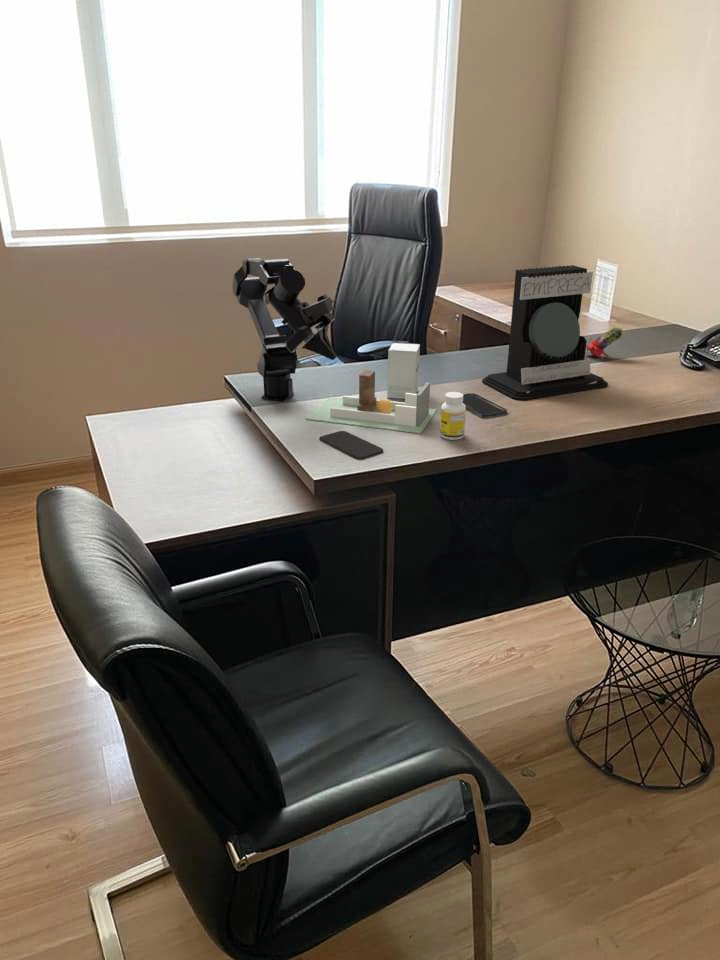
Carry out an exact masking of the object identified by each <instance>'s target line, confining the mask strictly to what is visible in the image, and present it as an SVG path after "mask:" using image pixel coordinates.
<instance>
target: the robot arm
mask: <svg viewBox="0 0 720 960" xmlns="http://www.w3.org/2000/svg"><path fill="white" fill-rule="evenodd" d="M249 275H250V276H249ZM232 280H233V281H232V285H231V286H232V293H233V296H234V297H235V298H236V299H237V302H238V303H239V305H241V306H243V307H244V308H247V311H248V312H249V314H250V317H251V320H252V322H253V324H254V327H255V329H256V332H257V334H258V337H259V339H260V342H261V344H262V345H261V352H260V355H259V357H258V361H257V363H256V366H257V367H256V368H257V373H258V374H259V375H260V376H261V377H263V380H262V381H263V395H261V397H260V398H261V399H264V400H272V401H281V402H285V401H286V400H288V399H289V398H290V397H292V396H293V395H294V393H295V392H294V388H293V379H292V378H291V374H292V375H293V374H296V371H297V361H298V355H297V354H296V350H297V349H298V347H299V346H300V345H301V344H302V343H303V342H304V345H303V346H302V347H301V349H303V350H308V351H311V352H313V353H316V354H318V355H321V356H322V357H325V358H327V359H329V360H331V361H334V360H335V359H336V358H337V354H336V352H335V350H334V348H333V345H332V344H331V342H330V339H329V336H328V329H329V325H331V323H333V321H335V319H336V317H335V316H334V315H333V313H331V312H332V311H335V308H334V306H333V304H334V300H333V299H332V298H331V296H328V295H327V294H322V295H320V296H317V300H316V301H317V302H315V303H313V304H309V303H308V302H307V301H303V302H301V300H300V299H299V298H298V297H299V296H300V295H301V293H302V292H303V290H304V288H305V286H306V279H305V277H304V276H303V274H302V273H301V272H300V271H298V270H296V268H295V267H294V265H293V264H292V263H291V262H290V260H289V259H288V258H271V259H264V258H261V257H252V258H251V257H249V258H245V259H243V260H242V264H241V267H239V269H238V270H236V272H235V273H234V275H233V279H232ZM271 285H272V286H273V287H271V288H269V289H268V286H271ZM267 289H268V290H267ZM269 304H270V305H271V307H272V308H273V309H274V311H276V312H277V314H278V315H279V316H280V317H281V318H282V319H283V320H282V321H281V324H283V325H284V326H285V325H288V326H289V327H290V329H292V331H294V332H293V333H292V334H291V335H290V336H289V337H288V335H284V334H283V335H280V334H279V333H278V329H277V327H276V325H275V323H274V320H273V318H272V316H271V313H270V311H269V309H268V305H269Z"/></svg>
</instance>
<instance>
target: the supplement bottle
mask: <svg viewBox="0 0 720 960" xmlns="http://www.w3.org/2000/svg"><path fill="white" fill-rule="evenodd" d="M463 395H464V394H463V393H461V392H458V391H449V392H448V391H447V392H446V393H445V394H444V401H445V402H443V403H442V404H441V407H440V408H441V410H440V429H439V432H440V436H441V438H443V439H446V440H448V441H450V440H451V441H452V440H453V441H454V440H456V441H457V440H461V439H462V438H464V437H465V429H466V428H465V427H466V411H467V410H466V406H465V404H463V403H462V402H463Z"/></svg>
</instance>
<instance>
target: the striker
mask: <svg viewBox="0 0 720 960" xmlns="http://www.w3.org/2000/svg"><path fill="white" fill-rule="evenodd" d="M358 379H359V380H358V389H359V390H358V391H359V392H358V395H359V396H358V397H359V404H358V405H357V410H360V411H368V412H372V411H373V410H374V409H375V408H376V399H377V397H376V395H375V394H376V371H375V370H370V369H369V370H368V369H364V370H363V371H362V372H361V373H360V374H359V375H358Z"/></svg>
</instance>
